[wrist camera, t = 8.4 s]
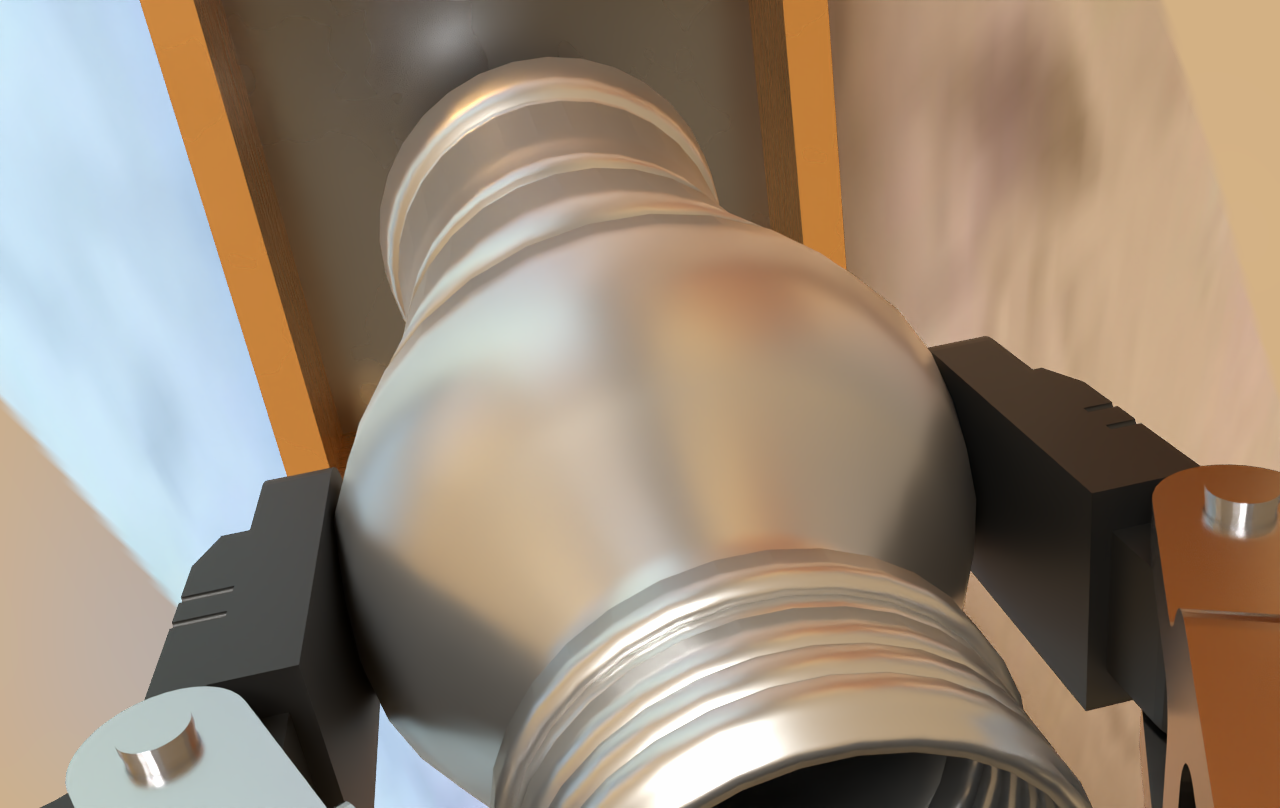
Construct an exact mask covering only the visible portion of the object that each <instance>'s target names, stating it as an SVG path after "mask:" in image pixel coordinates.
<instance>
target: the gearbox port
mask: <svg viewBox="0 0 1280 808" xmlns="http://www.w3.org/2000/svg"><path fill="white" fill-rule="evenodd" d="M140 3H141V6H142V9H143V13H144V16H145V19H146V22H147V25H148V29H149V32H150V35H151V38H152V42H153V45H154V48H155V51H156V54H157V58H158V61H159V64H160V67H161V71H162V74H163V77H164V80H165V84H166V87H167V90H168V93H169V96H170V100H171V103H172V106H173V109H174V113H175V116H176V119H177V122H178V125H179V129H180V132H181V135H182V138H183V142H184V145H185V148H186V151H187V155H188V158H189V161H190V164H191V167H192V171H193V174H194V177H195V180H196V184H197V187H198V190H199V193H200V196H201V200H202V203H203V206H204V209H205V213H206V216H207V219H208V222H209V226H210V229H211V232H212V235H213V238H214V242H215V245H216V248H217V251H218V255H219V258H220V261H221V264H222V267H223V271H224V274H225V277H226V280H227V284H228V287H229V290H230V293H231V296H232V300H233V303H234V306H235V309H236V313H237V316H238V319H239V322H240V326H241V329H242V332H243V335H244V338H245V342H246V345H247V348H248V351H249V355H250V358H251V361H252V364H253V367H254V371H255V374H256V377H257V380H258V384H259V387H260V390H261V393H262V397H263V400H264V403H265V406H266V409H267V413H268V416H269V419H270V422H271V426H272V429H273V432H274V435H275V438H276V442H277V445H278V448H279V451H280V455H281V458H282V461H283V464H284V468H285V471H286V474H287V477H288V476H293V475H298V474H302V473H307V472H312V471H317V470H322V469H327V468H332V467H335V468H337V470H338V471H339V473H340V475H341V477H342V479H344V475H345V470H346V466H347V462H348V458H349V456H350V453H351V450H352V447H353V444H354V441H355V437H356V433H357V430H358V426H359V423H360V421H361V418H362V416H363V414H364V412H365V410H366V408H367V406H368V404H369V402H370V400H371V398H372V396H373V394H374V392H375V390H376V388H377V386H378V384H379V382H380V380H381V378H382V375H383V373H384V371H385V370H386V368H387V367H388V365H389V363H390V361H391V359H392V357H393V355H394V354H395V352H396V350H397V348H398V346H399V344H400V342H401V340H402V338H403V334H404V330H405V324H406V322H405V321H404V319H403V317H402V315H401V312H400V310H399V308H398V305H397V303H396V300H395V298H394V295H393V293H392V291H391V288H390V285H389V281H388V278H387V275H386V272H385V267H384V262H383V256H382V251H381V246H380V207H381V202H382V198H383V194H384V190H385V185H386V181H387V177H388V174H389V172H390V169H391V167H392V165H393V163H394V161H395V159H396V156H397V154H398V152H399V150H400V148H401V146H402V144H403V142H404V141H405V140H406V138H407V137H408V135H409V134H410V133H411V131H412V130H413V129H414V127H415V126H416V125H417V123H418V122H419V121H420V119H421V118H422V116H423V115H424V114H426V113H427V112H428V111H429V110H430V109H431V108H432V107H433V106H434V105H435V104H437V103H438V102H439V101H440V100H441V99H442V98H443V97H444V96H445V95H446V94H447V93H449V92H450V91H452V90H453V89H455V88H457V87H458V86H460V85H462V84H463V83H465V82H467V81H468V80H470V79H472V78H473V77H475V76H477V75H478V74H480V73H483V72H486V71H489V70H492V69H494V68H497V67H500V66H503V65H505V64H508V63H511V62H515V61H522V60H529V59H536V58H542V57H561V58H579V59H585V60H589V61H593V62H596V63H600V64H604V65H608V66H611V67H615V68H617V69H619V70H621V71H623V72H625V73H627V74H629V75H631V76H633V77H635V78H637V79H639V80H641V81H643V82H645V83H646V84H647V85H648V86H650V87H651V88H652V89H653V90H655V91H656V92H657V93H658V94H660V95H661V96H662V97H663V98H665V99H666V100H667V101H668V102H669V103H670V104H671V105H672V106H673V107H674V109H675V110H676V111H677V112H678V113H679V115H680V116H681V117H682V118H683V120H684V121H685V122H686V123H687V125H688V126H689V127H690V129H691V131H692V133H693V135H694V137H695V138H696V140H697V142H698V144H699V146H700V148H701V150H702V152H703V154H704V156H705V159H706V162H707V164H708V167H709V169H710V172H711V175H712V179H713V182H714V186H715V190H716V193H717V197H718V201H719V205H720V206H721V207H722V208H723V209H725V210H726V211H727V212H728V213H731V214H733V215H736V216H738V217H740V218H743V219H745V220H748V221H750V222H752V223H755V224H757V225H760V226H762V227H764V228H768V229H771V230H773V231H775V232H777V233H780V234H782V235H784V236H786V237H788V238H790V239H792V240H794V241H796V242H798V243H801V244H803V245H805V246H807V247H809V248H811V249H813V250H815V251H817V252H820V253H821V254H823V255H824V256H826V257H827V258H829V259H830V260H831V261H833V262H834V263H836V264H837V265H839V266H840V267H842V268H844V269H845V270H846V257H845V243H844V228H843V214H842V199H841V185H840V171H839V156H838V142H837V128H836V113H835V99H834V85H833V70H832V56H831V42H830V27H829V13H828V0H140Z"/></svg>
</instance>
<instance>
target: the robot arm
mask: <svg viewBox="0 0 1280 808" xmlns="http://www.w3.org/2000/svg"><path fill="white" fill-rule="evenodd" d="M928 349H929V351H930V352H931V353H932V356H933V358H934V360H935V362H936V365H937V367H938V369H939V371H940V373H941V376H942V378H943V380H944V382H945V385H946V387H947V389H948V391H949V394H950V396H951V398H952V400H953V403H954V407H955V410H956V414H957V417H958V420H959V424H960V427H961V431H962V434H963V438H964V441H965V445H966V448H967V453H968V458H969V463H970V469H971V474H972V479H973V485H974V490H975V496H976V518H975V542H974V554H973V559H972V564H971V571H972V573H973V574H974V575H975V576H976V578H977V579H978V580H979V581H980V582H981V584H982V585H983V586H984V587H985V589H986V590H987V591H988V592H989V593H990V595H991V596H992V597H993V598H994V600H995V601H996V602H997V603H998V604H999V606H1000V607H1001V608H1002V609H1003V611H1004V612H1005V613H1006V614H1007V615H1008V617H1009V618H1010V619H1011V620H1012V622H1013V623H1014V624H1015V625H1016V626H1017V628H1018V629H1019V630H1020V631H1021V632H1022V634H1023V635H1024V636H1025V637H1026V639H1027V640H1028V641H1029V642H1030V643H1031V645H1032V646H1033V647H1034V648H1035V650H1036V651H1037V652H1038V653H1039V654H1040V656H1041V657H1042V658H1043V659H1044V661H1045V662H1046V663H1047V664H1048V665H1049V667H1050V668H1051V669H1052V670H1053V672H1054V673H1055V674H1056V675H1057V676H1058V678H1059V679H1060V680H1061V681H1062V683H1063V684H1064V685H1065V686H1066V687H1067V689H1068V690H1069V691H1070V692H1071V694H1072V695H1073V696H1074V697H1075V698H1076V700H1077V701H1078V702H1079V703H1080V704H1081V706H1082V707H1083V708H1084V709H1085V711H1088V710H1092V709H1097V708H1101V707H1105V706H1109V705H1114V704H1118V703H1122V702H1126V701H1130V700H1134V701H1135V702H1136V704H1137V705H1138V706H1139V707H1140V708H1141V719H1140V738H1139V749H1140V760H1141V771H1142V782H1143V793H1144V804H1145V808H1280V472H1278V471H1274V470H1270V469H1265V468H1260V467H1253V466H1246V465H1208V466H1200V465H1198V464H1197V463H1195V462H1194V461H1193V460H1191V459H1190V458H1189V457H1187V456H1186V455H1184V454H1183V453H1182V452H1180V451H1179V450H1177V449H1176V448H1175V447H1173V446H1172V445H1171V444H1169V443H1168V442H1166V441H1165V440H1164V439H1162V438H1161V437H1159V436H1158V435H1157V434H1155V433H1154V432H1153V431H1151V430H1150V429H1148V428H1147V427H1146V426H1144V425H1143V424H1141V423H1140V424H1136V422H1135V418H1133V417H1132V416H1130V415H1129V414H1128V413H1126V412H1125V411H1123V410H1122V409H1121V408H1119V407H1118V406H1116V407H1113V406H1112V402H1111V401H1110V400H1108V399H1107V398H1105V397H1104V396H1103V395H1101V394H1100V393H1099V392H1097V391H1096V390H1094V389H1093V388H1092V387H1090V386H1089V385H1087V384H1086V383H1085V382H1083V381H1080V380H1077V379H1074V378H1071V377H1068V376H1065V375H1062V374H1059V373H1056V372H1053V371H1050V370H1047V369H1044V368H1039V369H1034V370H1033V369H1031V368H1030V367H1029V366H1027V365H1026V364H1025V363H1023V362H1022V361H1021V360H1019V359H1018V358H1017V357H1015V356H1014V355H1013V354H1012V353H1010V352H1009V351H1008V350H1006V349H1005V348H1004V347H1002V346H1001V345H1000V344H998V343H997V342H996V341H995V340H993V339H992V338H990V337H987V336H984V337H979V338H974V339H969V340H964V341H959V342H954V343H949V344H944V345H939V346H934V347H930V348H928ZM342 483H343V479H342V477H341V475H340V473H339V471H338V470H337V468H335V467H332V468H327V469H322V470H317V471H312V472H307V473H302V474H298V475H293V476H288V477H283V478H278V479H273V480H268V481H265V482H264V484H263V486H262V490H261V493H260V497H259V500H258V504H257V507H256V511H255V514H254V518H253V521H252V525H251V528H250V530H249V531H244V532H239V533H234V534H229V535H224V536H221V537H220V538H219V539H218V540H217V541H216V542H215V543H214V544H213V545H212V547H211V548H210V549H209V550H208V551H207V552H206V553H205V554H204V555H203V556H202V557H201V558H200V559H199V560H198V561H197V562H196V563H195V564H194V565H193V566H192V568H191V571H190V573H189V576H188V579H187V582H186V585H185V587H184V590H183V593H182V596H181V599H182V603H179V604H178V607H177V610H176V613H175V616H174V618H173V621H172V624H173V628H172V629H170V630H169V633H168V635H167V638H166V641H165V644H164V647H163V650H162V653H161V655H160V658H159V661H158V663H157V666H156V669H155V672H154V675H153V678H152V680H151V683H150V686H149V689H148V692H147V694H146V697H145V700H144V701H142V702H140V703H138V704H136V705H134V706H132V707H130V708H128V709H126V710H124V711H122V712H121V713H119V714H118V715H116V716H115V717H113V718H112V719H110V720H109V721H108V722H106V723H105V724H104V725H102V726H101V727H100V728H98V729H97V730H96V731H95V732H94V733H93V734H92V735H91V736H90V737H89V738H88V739H87V740H86V741H85V742H84V743H83V744H82V745H81V747H80V748H79V749H78V750H77V752H76V753H75V755H74V757H73V758H72V760H71V762H70V764H69V767H68V770H67V773H66V787H67V791H68V793H67V794H66V795H64V796H62V797H61V798H59V799H57V800H55V801H53V802H51V803H49V804H47V805H45V806H43V807H41V808H374V799H375V781H376V764H377V747H378V729H379V712H380V701H379V699H378V697H377V696H376V694H375V692H374V690H373V688H372V686H371V684H370V682H369V680H368V678H367V676H366V674H365V671H364V669H363V667H362V664H361V662H360V659H359V656H358V652H357V648H356V644H355V640H354V636H353V632H352V628H351V624H350V620H349V616H348V612H347V608H346V604H345V599H344V592H343V585H342V578H341V571H340V564H339V557H338V550H337V543H336V536H335V529H334V515H335V511H336V507H337V503H338V499H339V495H340V491H341V487H342Z"/></svg>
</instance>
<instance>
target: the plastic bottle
mask: <svg viewBox="0 0 1280 808" xmlns="http://www.w3.org/2000/svg"><path fill="white" fill-rule="evenodd" d="M380 246H381V251H382V256H383V262H384V267H385V272H386V275H387V278H388V281H389V285H390V288H391V291H392V293H393V295H394V298H395V300H396V303H397V305H398V308H399V310H400V312H401V315H402V317H403V319H404V321H405V322H406V324H405V330H404V334H403V338H402V340H401V342H400V344H399V346H398V348H397V350H396V352H395V354H394V355H393V357H392V359H391V361H390V363H389V365H388V367H387V368H386V370H385V371H384V373H383V375H382V378H381V380H380V382H379V384H378V386H377V388H376V390H375V392H374V394H373V396H372V398H371V400H370V402H369V404H368V406H367V408H366V410H365V412H364V414H363V416H362V418H361V421H360V423H359V426H358V430H357V433H356V437H355V441H354V444H353V447H352V450H351V453H350V456H349V458H348V462H347V466H346V470H345V475H344V479H343V483H342V487H341V491H340V495H339V499H338V503H337V507H336V511H335V515H334V529H335V536H336V543H337V550H338V557H339V564H340V571H341V578H342V585H343V592H344V599H345V604H346V608H347V612H348V616H349V620H350V624H351V628H352V632H353V636H354V640H355V644H356V648H357V652H358V656H359V659H360V662H361V664H362V667H363V669H364V671H365V674H366V676H367V678H368V680H369V682H370V684H371V686H372V688H373V690H374V692H375V694H376V696H377V697H378V699H379V701H380V703H381V705H382V707H383V709H384V711H385V713H386V715H387V717H388V719H389V721H390V722H391V723H392V724H393V726H394V727H395V728H396V729H397V730H398V731H399V733H400V734H401V735H402V736H403V737H404V738H405V740H406V741H407V742H408V743H409V744H410V745H411V746H412V748H413V749H414V750H415V751H416V752H417V753H418V755H419V756H420V757H421V758H422V759H423V760H425V761H426V762H427V763H429V764H430V765H431V766H433V767H434V768H435V769H437V770H438V771H439V772H441V773H442V774H443V775H445V776H446V777H447V778H449V779H450V780H451V781H453V782H454V783H455V784H457V785H458V786H459V787H461V788H462V789H463V790H465V791H466V792H468V793H469V794H471V795H472V796H474V797H475V798H476V799H478V800H479V801H481V802H482V803H484V804H485V805H487V806H488V807H489V808H1092V806H1091V803H1090V801H1089V799H1088V797H1087V795H1086V793H1085V791H1084V789H1083V787H1082V784H1081V782H1080V781H1079V780H1078V779H1077V777H1076V776H1075V775H1074V774H1073V772H1072V771H1071V770H1070V769H1069V767H1068V766H1067V765H1066V764H1065V762H1064V761H1063V760H1062V759H1061V757H1060V756H1059V755H1058V754H1057V753H1056V751H1055V749H1054V748H1053V747H1052V746H1051V744H1050V743H1049V742H1048V741H1047V739H1046V738H1045V737H1044V736H1043V734H1042V733H1041V732H1040V731H1039V729H1038V728H1037V727H1036V726H1035V724H1034V723H1033V722H1032V720H1031V719H1030V718H1029V716H1028V715H1027V714H1026V713H1025V711H1024V710H1023V705H1022V699H1021V695H1020V693H1019V691H1018V689H1017V687H1016V685H1015V683H1014V681H1013V679H1012V677H1011V675H1010V673H1009V671H1008V668H1007V666H1006V664H1005V662H1004V660H1003V659H1002V658H1001V657H1000V655H999V654H998V653H997V651H996V650H995V649H994V648H993V646H992V645H991V644H990V643H989V641H988V640H987V639H986V638H985V636H984V635H983V634H982V633H981V631H980V630H979V629H978V628H977V626H976V625H975V624H974V623H973V622H972V621H971V620H970V619H969V617H968V616H967V615H966V614H965V613H964V612H963V607H964V601H965V596H966V591H967V586H968V580H969V575H970V570H971V564H972V559H973V554H974V542H975V518H976V496H975V490H974V485H973V479H972V474H971V469H970V463H969V458H968V453H967V448H966V445H965V441H964V438H963V434H962V431H961V427H960V424H959V420H958V417H957V414H956V410H955V407H954V403H953V400H952V398H951V396H950V394H949V391H948V389H947V387H946V385H945V382H944V380H943V378H942V376H941V373H940V371H939V369H938V367H937V365H936V362H935V360H934V358H933V356H932V353H931V352H930V351H929V349H928V348H927V347H926V345H925V344H924V343H923V342H922V340H921V339H920V338H919V337H918V335H917V334H916V333H915V331H914V330H913V329H912V328H911V326H910V325H909V324H908V322H907V321H906V320H905V319H904V317H903V316H902V315H901V313H900V312H899V311H898V310H897V309H896V308H895V307H894V306H892V305H891V304H890V303H889V302H887V301H886V300H885V299H884V298H882V297H881V296H880V295H878V294H877V293H876V292H875V291H873V290H872V289H871V288H870V287H868V286H867V285H866V284H865V283H863V282H862V281H861V280H860V279H858V278H857V277H856V276H855V275H853V274H852V273H850V272H849V271H847V270H845V269H844V268H842V267H840V266H839V265H837V264H836V263H834V262H833V261H831V260H830V259H829V258H827V257H826V256H824V255H823V254H821V253H820V252H817V251H815V250H813V249H811V248H809V247H807V246H805V245H803V244H801V243H798V242H796V241H794V240H792V239H790V238H788V237H786V236H784V235H782V234H780V233H777V232H775V231H773V230H771V229H768V228H764V227H762V226H760V225H757V224H755V223H752V222H750V221H748V220H745V219H743V218H740V217H738V216H736V215H733V214H731V213H728V212H727V211H726V210H725V209H723V208H722V207H721V206H720V205H719V201H718V197H717V193H716V190H715V186H714V182H713V179H712V175H711V172H710V169H709V167H708V164H707V162H706V159H705V156H704V154H703V152H702V150H701V148H700V146H699V144H698V142H697V140H696V138H695V137H694V135H693V133H692V131H691V129H690V127H689V126H688V125H687V123H686V122H685V121H684V120H683V118H682V117H681V116H680V115H679V113H678V112H677V111H676V110H675V109H674V107H673V106H672V105H671V104H670V103H669V102H668V101H667V100H666V99H665V98H663V97H662V96H661V95H660V94H658V93H657V92H656V91H655V90H653V89H652V88H651V87H650V86H648V85H647V84H646V83H645V82H643V81H641V80H639V79H637V78H635V77H633V76H631V75H629V74H627V73H625V72H623V71H621V70H619V69H617V68H615V67H611V66H608V65H604V64H600V63H596V62H593V61H589V60H585V59H579V58H561V57H542V58H536V59H529V60H522V61H515V62H511V63H508V64H505V65H503V66H500V67H497V68H494V69H492V70H489V71H486V72H483V73H480V74H478V75H477V76H475V77H473V78H472V79H470V80H468V81H467V82H465V83H463V84H462V85H460V86H458V87H457V88H455V89H453V90H452V91H450V92H449V93H447V94H446V95H445V96H444V97H443V98H442V99H441V100H440V101H439V102H438V103H437V104H435V105H434V106H433V107H432V108H431V109H430V110H429V111H428V112H427V113H426V114H424V115H423V116H422V118H421V119H420V121H419V122H418V123H417V125H416V126H415V127H414V129H413V130H412V131H411V133H410V134H409V135H408V137H407V138H406V140H405V141H404V142H403V144H402V146H401V148H400V150H399V152H398V154H397V156H396V159H395V161H394V163H393V165H392V167H391V169H390V172H389V174H388V177H387V181H386V185H385V190H384V194H383V198H382V202H381V207H380Z"/></svg>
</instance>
